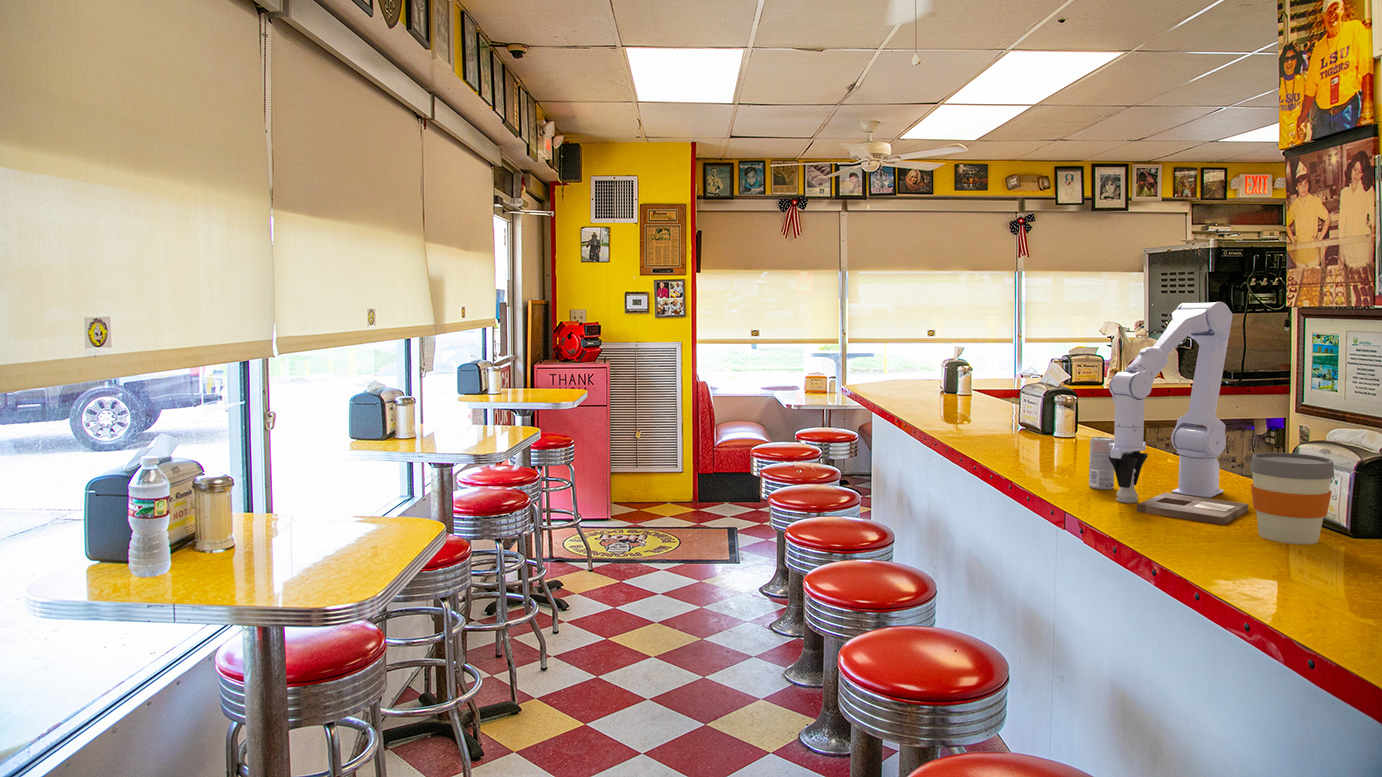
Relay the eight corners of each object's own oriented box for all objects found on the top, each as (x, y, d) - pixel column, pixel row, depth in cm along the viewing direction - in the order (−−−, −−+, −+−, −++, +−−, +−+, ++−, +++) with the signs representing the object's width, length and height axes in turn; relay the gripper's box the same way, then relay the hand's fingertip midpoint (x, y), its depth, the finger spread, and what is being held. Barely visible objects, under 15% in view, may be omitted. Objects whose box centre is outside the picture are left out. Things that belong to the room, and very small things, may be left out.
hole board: (1164, 499, 182) (1164, 491, 182) (1247, 510, 170) (1248, 502, 170) (1136, 511, 172) (1137, 503, 172) (1223, 524, 160) (1223, 516, 160)
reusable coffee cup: (1255, 525, 159) (1258, 450, 158) (1336, 536, 150) (1340, 457, 149) (1240, 538, 150) (1243, 458, 149) (1325, 551, 141) (1329, 466, 140)
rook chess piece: (1136, 499, 182) (1137, 464, 182) (1140, 504, 178) (1141, 468, 177) (1114, 498, 184) (1115, 464, 183) (1117, 503, 179) (1118, 467, 179)
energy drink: (1108, 485, 198) (1109, 436, 197) (1117, 489, 193) (1118, 440, 192) (1085, 485, 198) (1086, 436, 197) (1094, 489, 193) (1095, 440, 192)
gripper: (1123, 420, 187) (1121, 478, 188) (1096, 427, 178) (1095, 488, 179) (1156, 423, 182) (1154, 482, 183) (1130, 430, 172) (1129, 493, 173)
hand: (1127, 486), depth 180 cm, fingers closed on rook chess piece, 3 cm apart
